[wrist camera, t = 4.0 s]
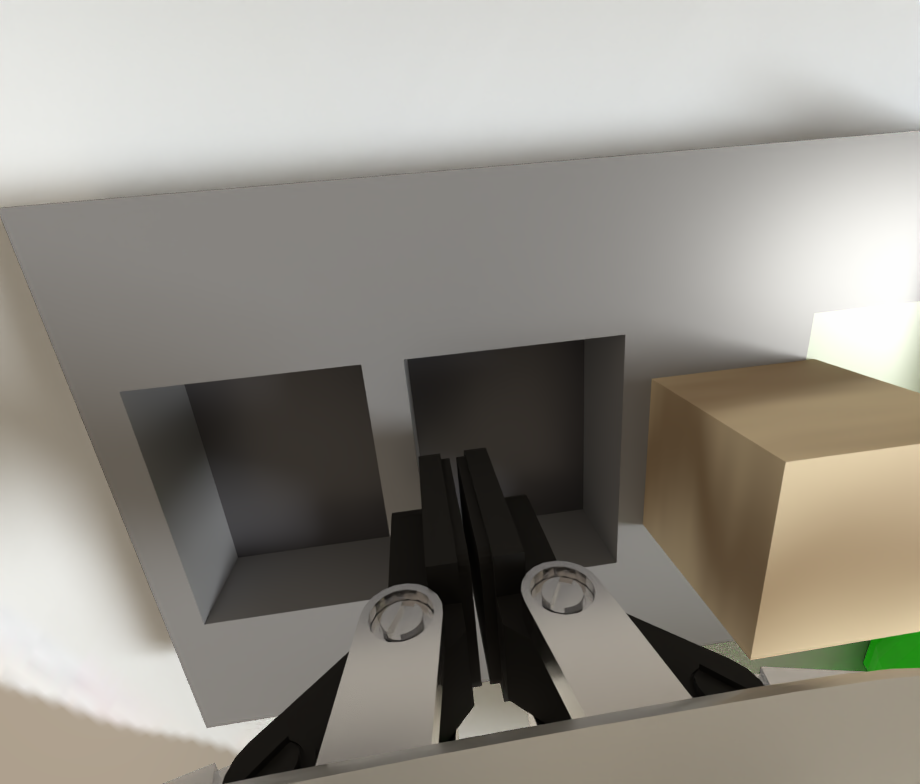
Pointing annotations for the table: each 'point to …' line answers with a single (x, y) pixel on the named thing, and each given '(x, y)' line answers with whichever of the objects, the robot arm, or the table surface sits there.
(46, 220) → the box
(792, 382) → the birch block
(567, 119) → the table surface
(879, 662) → the plastic bottle
